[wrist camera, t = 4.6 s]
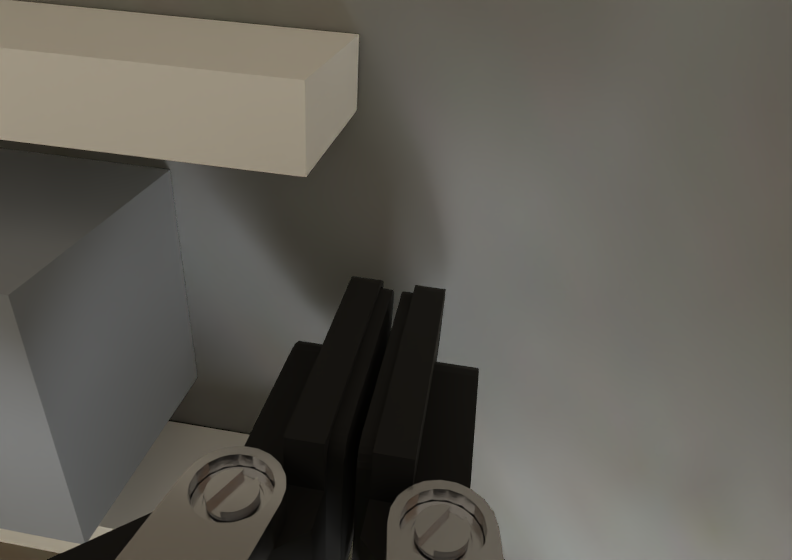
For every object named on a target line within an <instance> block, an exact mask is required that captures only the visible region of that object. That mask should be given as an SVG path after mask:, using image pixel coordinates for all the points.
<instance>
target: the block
mask: <svg viewBox="0 0 792 560" xmlns="http://www.w3.org/2000/svg"><path fill="white" fill-rule="evenodd" d="M196 379H197V369H196V362H195V354H194V347H193V339H192V331H191V324H190V316H189V309H188V301H187V294H186V286H185V279H184V271H183V263H182V256H181V248H180V241H179V233H178V226H177V218H176V210H175V203H174V195H173V188H172V180H171V173H170V170H169V169H161V168H153V167H146V166H138V165H130V164H122V163H114V162H106V161H98V160H90V159H82V158H74V157H66V156H58V155H50V154H42V153H34V152H26V151H18V150H10V149H2V148H0V529H6V530H11V531H16V532H21V533H26V534H31V535H37V536H42V537H47V538H52V539H57V540H62V541H68V542H73V543H78V544H83V543H85V542H87V541H89V539H90V538H91V536H92V535H93V533H94V532H95V530H96V529H97V527H98V526H99V524H100V523H101V521H102V520H103V518H104V517H105V515H106V514H107V512H108V511H109V509H110V508H111V506H112V505H113V503H114V502H115V500H116V499H117V497H118V496H119V494H120V493H121V491H122V490H123V488H124V487H125V485H126V484H127V482H128V481H129V479H130V478H131V476H132V475H133V473H134V472H135V470H136V469H137V467H138V466H139V464H140V463H141V461H142V460H143V458H144V457H145V455H146V454H147V452H148V451H149V449H150V448H151V446H152V445H153V443H154V442H155V440H156V439H157V437H158V436H159V434H160V433H161V431H162V430H163V428H164V427H165V425H166V424H167V422H168V421H169V419H170V418H171V416H172V415H173V413H174V412H175V410H176V409H177V407H178V406H179V404H180V403H181V401H182V400H183V398H184V397H185V395H186V394H187V392H188V391H189V389H190V388H191V386H192V385H193V383H194V382H195V380H196Z"/></svg>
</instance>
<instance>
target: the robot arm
mask: <svg viewBox="0 0 792 560" xmlns="http://www.w3.org/2000/svg"><path fill="white" fill-rule="evenodd" d="M445 291H446V289H439V288H432V287H425V286H418V285H416V286H415V288H414V292H413V293H410V292H402V294H401V298H400V301H399V305H398V308H397V312H396V315H395V319H394V322H393V326H392V329H391V324H392V311H393V297H394V291H393V290H389V289H383V281H382V280H375V279H368V278H361V277H354V276H353V277H352V278H351V280H350V282H349V285H348V287H347V289H346V292H345V294H344V296H343V299H342V301H341V303H340V306H339V308H338V310H337V312H336V315H335V317H334V319H333V322H332V324H331V326H330V329H329V331H328V333H327V336H326V338H325V340H324V343H323V345H322V344H315V343H309V342H302V341H298V342H297V343H296V344H295V345H294V347H293V348H292V350H291V352H290V354H289V356H288V358H287V360H286V362H285V364H284V366H283V369H282V371H281V373H280V375H279V377H278V379H277V381H276V383H275V385H274V387H273V389H272V391H271V393H270V395H269V397H268V399H267V401H266V403H265V405H264V407H263V409H262V411H261V413H260V415H259V417H258V419H257V421H256V423H255V425H254V427H253V429H252V431H251V433H250V435H249V437H248V439H247V441H246V443H245V445H244V446H237V447H226V448H222V449H219V450H216V451H213V452H210V453H208V454H206V455H205V456H203V457H201V458H199V459H198V460H196V461H195V462H194V463H193V464H192V465H191V466H190V467H189V468H188V469H187V470H186V471H185V472H184V473H183V474H182V475H181V477H180V478H179V479H178V480H177V482H176V483H175V484H174V485H173V487H172V488H171V489H170V491H169V492H168V493H167V494H166V496H165V497H164V498H163V499H162V501H161V502H160V503H159V504H158V506H157V507H156V508H155V510H154V511H153V512H151V513H149V514H147V515H145V516H142V517H140V518H138V519H136V520H134V521H131V522H129V523H127V524H125V525H123V526H120V527H118V528H116V529H114V530H111V531H109V532H107V533H105V534H103V535H100V536H98V537H96V538H94V539H92V540H89V541H87V542H85V543H83V544H81V545H78V546H76V547H74V548H72V549H69V550H67V551H65V552H63V553H61V554H58V555H56V556H54V557H52V558H50V559H47V560H348V557H349V553H350V549H351V545H352V541H353V555H352V560H505V559H504V558H503V551H502V544H501V538H500V531H499V526H498V523H497V520H496V517H495V514H494V512H493V510H492V509H491V508H490V506H489V505H488V503H487V502H486V501H485V499H483V498H482V497H481V496H479V495H478V494H477V493H476V492H474V491H473V490H472V489H470V484H471V470H472V457H473V443H474V429H475V416H476V402H477V388H478V374H479V369H478V368H473V367H467V366H460V365H453V364H447V363H440V362H437V355H438V347H439V339H440V332H441V324H442V316H443V308H444V300H445Z"/></svg>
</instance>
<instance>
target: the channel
mask: <svg viewBox="0 0 792 560" xmlns="http://www.w3.org/2000/svg"><path fill="white" fill-rule="evenodd" d="M358 56H359V34H350V33H340V32H330V31H320V30H310V29H300V28H289V27H279V26H269V25H259V24H249V23H238V22H228V21H218V20H208V19H198V18H187V17H177V16H167V15H157V14H147V13H137V12H126V11H116V10H106V9H96V8H86V7H75V6H65V5H55V4H45V3H35V2H25V1H14V0H0V140H8V141H16V142H25V143H33V144H41V145H49V146H57V147H65V148H73V149H81V150H89V151H97V152H106V153H114V154H122V155H130V156H138V157H146V158H154V159H162V160H170V161H178V162H187V163H195V164H203V165H211V166H219V167H227V168H235V169H243V170H251V171H259V172H267V173H276V174H284V175H292V176H300V177H307V175H308V174H309V173H310V171H311V170H312V169H313V167H314V166H315V165H316V164H317V162H318V161H319V160H320V158H321V157H322V156H323V154H324V153H325V152H326V150H327V149H328V148H329V146H330V145H331V144H332V142H333V141H334V140H335V139H336V137H337V136H338V135H339V133H340V132H341V131H342V129H343V128H344V127H345V125H346V124H347V123H348V121H349V120H350V119H351V118H352V116H353V115H354V114H355V112H356V111H357V89H358ZM248 437H249V435H248V434H242V433H236V432H230V431H224V430H219V429H213V428H207V427H201V426H195V425H189V424H183V423H177V422H171V421H168V422H167V424H166V425H165V427H164V428H163V430H162V431H161V433H160V434H159V436H158V437H157V439H156V440H155V442H154V443H153V445H152V446H151V448H150V449H149V451H148V452H147V454H146V455H145V457H144V458H143V460H142V461H141V463H140V464H139V466H138V467H137V469H136V470H135V472H134V473H133V475H132V476H131V478H130V479H129V481H128V482H127V484H126V485H125V487H124V488H123V490H122V491H121V493H120V494H119V496H118V497H117V499H116V500H115V502H114V503H113V505H112V506H111V508H110V509H109V511H108V512H107V514H106V515H105V517H104V518H103V520H102V521H101V523H100V524H99V526H98V527H97V529H96V530H95V532H94V533H93V535H92V536H91V538H90V539H89V540H92V539H94V538H96V537H98V536H100V535H103V534H105V533H107V532H109V531H111V530H114V529H116V528H118V527H120V526H123V525H125V524H127V523H129V522H131V521H134V520H136V519H138V518H140V517H142V516H145V515H147V514H149V513H151V512H153V511H154V510H155V508H156V507H157V506H158V504H159V503H160V502H161V501H162V499H163V498H164V497H165V496H166V494H167V493H168V492H169V491H170V489H171V488H172V487H173V485H174V484H175V483H176V482H177V480H178V479H179V478H180V477H181V475H182V474H183V473H184V472H185V471H186V470H187V469H188V468H189V467H190V466H191V465H192V464H193V463H194V462H195V461H196V460H198V459H199V458H201V457H203V456H205V455H206V454H208V453H210V452H213V451H216V450H219V449H222V448H226V447H237V446H244V445H245V443H246V441H247V439H248ZM0 542H5V543H10V544H15V545H20V546H25V547H30V548H35V549H40V550H46V551H51V552H56V553H63V552H65V551H67V550H69V549H72V548H74V547H76V546H78V545H81V544H78V543H73V542H68V541H62V540H57V539H52V538H47V537H42V536H37V535H31V534H26V533H21V532H16V531H11V530H6V529H0Z"/></svg>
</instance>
